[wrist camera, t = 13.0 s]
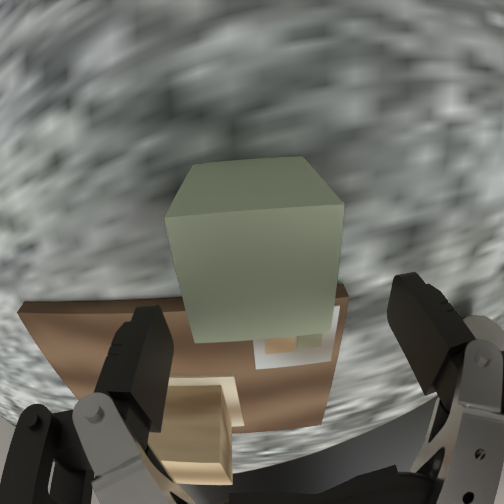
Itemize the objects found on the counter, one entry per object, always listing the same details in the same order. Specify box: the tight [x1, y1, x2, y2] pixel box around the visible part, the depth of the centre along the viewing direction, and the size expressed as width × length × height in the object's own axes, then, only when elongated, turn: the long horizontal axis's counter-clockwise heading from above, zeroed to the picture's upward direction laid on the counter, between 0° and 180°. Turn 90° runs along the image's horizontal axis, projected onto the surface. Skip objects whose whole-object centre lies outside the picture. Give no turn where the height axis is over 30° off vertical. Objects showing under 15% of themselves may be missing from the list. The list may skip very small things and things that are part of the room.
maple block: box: [148, 385, 233, 485], centre depth 18 cm, size 6×6×6 cm
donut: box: [463, 315, 504, 351], centre depth 16 cm, size 10×4×10 cm, turn 26°
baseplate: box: [17, 284, 349, 433], centre depth 20 cm, size 16×22×1 cm
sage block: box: [164, 156, 344, 343], centre depth 12 cm, size 5×5×6 cm
